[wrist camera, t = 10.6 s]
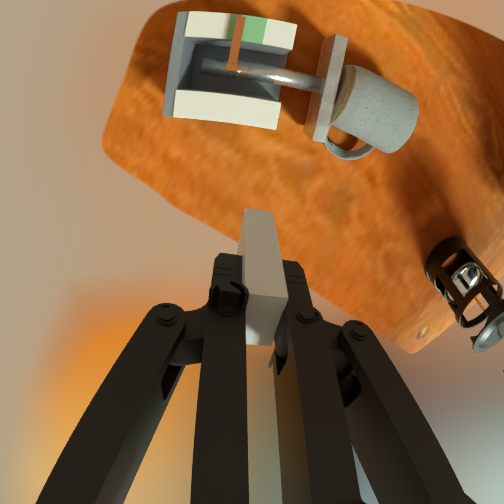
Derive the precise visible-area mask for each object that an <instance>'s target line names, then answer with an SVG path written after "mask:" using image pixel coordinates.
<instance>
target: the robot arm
mask: <svg viewBox="0 0 504 504" xmlns="http://www.w3.org/2000/svg"><path fill="white" fill-rule="evenodd" d="M273 340H275V349H274V351H273V354H272V356H271V359H270V361H269V366H268V367H271V366H272V363H273V372H274V385H275V398H276V412H277V425H278V440H279V455H280V470H281V486H282V502H283V504H366V503H364V502H363V501H362V499H361V496H360V491H359V485H358V479H357V473H356V467H355V461H354V456H353V450H352V445H353V448H354V450H355V452H356V454H357V456H358V458H359V461H360V463H361V465H362V467H363V469H364V472H365V474H366V476H367V478H368V480H369V483H370V485H371V487H372V489H373V491H374V494H375V496H376V498H377V500H378V502H379V504H476V503H475V502H474V501H473V500H472V499H471V498H470V497H469V496H467V495H466V494H465V493H464V491H463V489H462V487H461V485H460V483H459V481H458V479H457V477H456V475H455V473H454V471H453V469H452V467H451V465H450V463H449V461H448V459H447V457H446V455H445V453H444V451H443V450H442V448H441V446H440V444H439V442H438V440H437V438H436V437H435V435H434V433H433V431H432V429H431V427H430V426H429V424H428V422H427V421H426V418H425V417H424V415H423V414H422V411H421V410H420V408H419V406H418V405H417V403H416V401H415V399H414V398H413V396H412V394H411V393H410V391H409V389H408V387H407V386H406V384H405V383H404V381H403V379H402V378H401V376H400V374H399V373H398V371H397V370H396V368H395V366H394V365H393V363H392V361H391V360H390V358H389V357H388V355H387V353H386V352H385V350H384V349H383V347H382V346H381V344H380V342H379V341H378V339H377V338H376V336H375V335H374V333H373V332H372V330H371V329H370V328H369V327H368V326H367V325H366V324H364V323H363V322H360V321H357V320H350V321H347V322H346V323H345V324H344V325H343V326H342V327H341V326H338V325H335V324H332V323H329V322H327V321H325V320H323V317H322V316H321V313H320V312H319V311H318V310H317V309H315V308H314V307H313V305H312V301H311V297H310V293H309V289H308V285H307V281H306V278H305V273H304V270H303V268H302V267H301V266H300V264H299V263H298V262H295V261H287V260H282V258H281V253H280V247H279V242H278V236H277V231H276V226H275V220H274V215H273V212H270V211H263V210H256V209H249V208H245V210H244V216H243V222H242V227H241V233H240V239H239V245H238V251H237V255H234V254H226V253H220V254H219V255H218V256H217V257H216V258H215V261H214V268H213V275H212V282H211V287H210V289H209V300H208V302H207V303H206V305H204V306H203V307H202V308H199V309H197V310H192V311H185V312H184V310H183V309H182V308H181V307H179V306H177V305H175V304H171V303H162V304H158V305H156V306H154V307H153V308H152V309H151V310H150V311H149V312H148V313H147V315H146V317H145V318H144V319H143V321H142V323H141V324H140V325H139V327H138V328H137V330H136V331H135V333H134V334H133V336H132V337H131V339H130V340H129V342H128V343H127V345H126V346H125V348H124V350H123V351H122V353H121V354H120V356H119V357H118V359H117V360H116V362H115V364H114V365H113V367H112V368H111V370H110V371H109V373H108V375H107V376H106V378H105V379H104V381H103V383H102V384H101V386H100V387H99V389H98V391H97V393H96V394H95V396H94V397H93V399H92V401H91V402H90V404H89V406H88V407H87V409H86V411H85V412H84V414H83V416H82V417H81V419H80V421H79V423H78V424H77V426H76V428H75V430H74V431H73V433H72V435H71V437H70V438H69V441H68V442H67V444H66V446H65V447H64V449H63V451H62V453H61V455H60V457H59V458H58V460H57V462H56V464H55V466H54V468H53V470H52V472H51V474H50V475H49V477H48V479H47V482H46V483H45V485H44V487H43V490H42V491H41V493H40V495H39V497H38V500H37V502H36V504H123V503H124V501H125V498H126V496H127V494H128V491H129V489H130V487H131V485H132V482H133V480H134V478H135V476H136V473H137V471H138V469H139V467H140V464H141V462H142V460H143V458H144V455H145V453H146V451H147V449H148V446H149V444H150V442H151V440H152V438H153V435H154V433H155V431H156V429H157V427H158V424H159V422H160V420H161V418H162V416H163V413H164V411H165V409H166V406H167V405H168V402H169V400H170V398H171V396H172V394H173V392H174V389H175V387H176V385H177V383H178V381H179V379H180V376H181V374H182V372H183V370H184V368H185V365H189V364H195V363H201V371H200V380H199V390H198V401H197V412H196V425H195V436H194V450H193V464H192V481H191V501H190V504H249V484H248V483H249V482H248V437H247V435H248V434H247V378H246V344H255V345H268V346H271V345H272V343H273ZM351 443H352V445H351Z"/></svg>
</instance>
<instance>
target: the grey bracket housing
mask: <svg viewBox="0 0 504 504" xmlns="http://www.w3.org/2000/svg"><path fill="white" fill-rule="evenodd" d="M237 16H242V17H246V21H245V25H244V30H243V35H242V40H241V46H240V51H239V56H238V61H243V62H250V63H257V64H263V65H269V66H274V67H279V68H284V69H285V66H286V61H287V56H288V52H290V51H291V50H292V49H293V44H294V39H295V34H296V29H297V24H293V23H288V22H283V21H278V20H273V19H268V18H262V17H255V16H248V15H240V14H229V13H217V12H200V11H189V12H178V16H177V20H176V26H175V31H174V36H173V42H172V48H171V54H170V60H169V67H168V74H167V81H166V89H165V97H164V107H163V116H168V117H178V118H191V119H201V120H211V121H220V122H228V123H235V124H242V125H249V126H255V127H261V128H267V129H273V130H276V127H277V122H278V117H279V112H280V108H281V102H279V96H280V91H281V86H282V85H277V84H271V83H266V82H260V81H254V80H247V79H240V78H233V77H224V76H215V75H204V74H201V66H202V61H203V58H204V57H207V58H218V59H228V60H229V54H230V49H231V44H232V38H233V33H234V28H235V23H236V19H237Z"/></svg>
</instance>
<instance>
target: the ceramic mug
mask: <svg viewBox="0 0 504 504" xmlns="http://www.w3.org/2000/svg"><path fill="white" fill-rule="evenodd" d="M418 112H419V107H418V102H417V99H416V98H415V96H414V95H413V94H412V93H410V92H408V91H407V90H405V89H403V88H401V87H400V86H398V85H396V84H394V83H392V82H391V81H389V80H387V79H385V78H383V77H381V76H379V75H377V74H375V73H373V72H371V71H369V70H367V69H365V68H362V67H359V66H356V65H352V64H348V65H345V66H343V67H342V70H341V75H340V79H339V84H338V88H337V93H336V97H335V101H334V106H333V110H332V114H331V118H330V122H329V126H328V131H329V129H330V127H331V125H334V126H335V127H337V128H338V129H340V130H342V131H345V132H347V133H349V134H351V135H353V136H355V137H357V138H359V139H361V140H362V141H364V142H366V143H367V144H366V145H365V146H363V147H362V148H360V149H358V150H355V151H345V150H343V149H342V148H340V147H338V146H336V145H335V144H334V143H333V142H330V141H329V140H328V139H327V135H326V139H325V143H324V144H325V146H326V148H327V150H328V151H329V152H330V153H332V154H333V155H334V156H336V157H338V158H341V159H344V160H355V159H359V158H361V157H364V156H365V155H367V154H368V153H370V152H371V151H372V150H373V149H374V148H377V149H379V150H380V151H382V152H385V153H392V152H395V151H397V150H398V149H399V148H401V147H402V146H403V145H404V144H405V142H406V141H407V140H408V139H409V137H410V136H411V134H412V132H413V130H414V128H415V125H416V122H417V118H418ZM328 131H327V134H328Z"/></svg>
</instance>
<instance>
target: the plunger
mask: <svg viewBox="0 0 504 504" xmlns="http://www.w3.org/2000/svg"><path fill="white" fill-rule="evenodd" d="M245 21H246V17H242V16H237V19H236V23H235V28H234V33H233V38H232V44H231V49H230V54H229V60H228V59H218V58H207V57H204V58H203V61H202V66H201V74H204V75H215V76H224V77H233V78H240V79H247V80H254V81H260V82H266V83H271V84H277V85H282V86H287V87H291V88H296V89H301V90H305V91H309V92H312V94H311V98H310V103H309V107H308V112H307V116H306V121H305V125H304V130H303V132H304V133H305V134H306V135H307V136H308V137H309V138H310V139H312V140H313V141H317V142H322V143H325V139H326V135H327V131H328V126H329V122H330V118H331V114H332V110H333V106H334V101H335V97H336V93H337V88H338V84H339V79H340V75H341V70H342V66H343V61H344V56H345V51H346V46H347V42H348V37H344V36H341V35H338V34H334V35H332V36H330V37H328V38H326V39H324V40H323V42H322V47H321V51H320V56H319V61H318V66H317V70H316V75H311V74H307V73H303V72H298V71H294V70H289V69H284V68H279V67H274V66H269V65H263V64H257V63H250V62H243V61H238V56H239V51H240V46H241V40H242V35H243V30H244V25H245Z"/></svg>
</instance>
